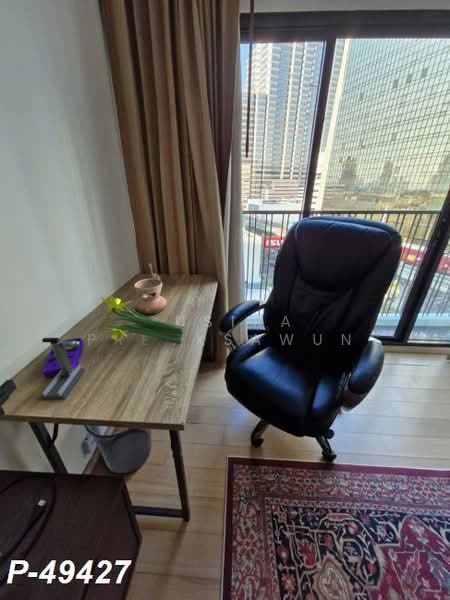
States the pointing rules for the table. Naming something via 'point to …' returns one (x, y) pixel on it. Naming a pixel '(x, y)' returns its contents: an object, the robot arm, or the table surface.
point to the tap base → (62, 385)
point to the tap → (62, 354)
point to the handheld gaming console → (73, 355)
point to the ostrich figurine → (152, 274)
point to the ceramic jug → (150, 296)
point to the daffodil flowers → (141, 324)
